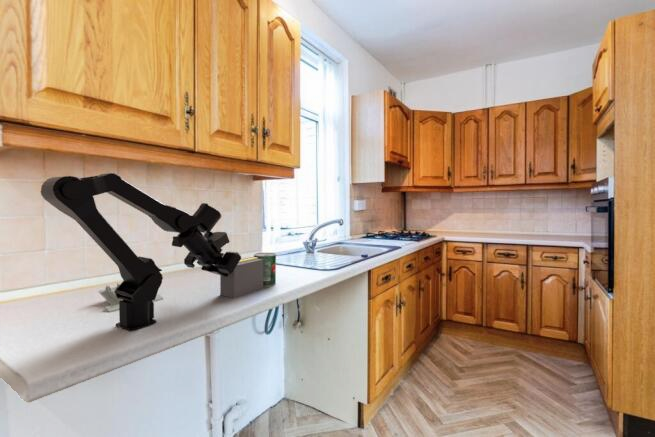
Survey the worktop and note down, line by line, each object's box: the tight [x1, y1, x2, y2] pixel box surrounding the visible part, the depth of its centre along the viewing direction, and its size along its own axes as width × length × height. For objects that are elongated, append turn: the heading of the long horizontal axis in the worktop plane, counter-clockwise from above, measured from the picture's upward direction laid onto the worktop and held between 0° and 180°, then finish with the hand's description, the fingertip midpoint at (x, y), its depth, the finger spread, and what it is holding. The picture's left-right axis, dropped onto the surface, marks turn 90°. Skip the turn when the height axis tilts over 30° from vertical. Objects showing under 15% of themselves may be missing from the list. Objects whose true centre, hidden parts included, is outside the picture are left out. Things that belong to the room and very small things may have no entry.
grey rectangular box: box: [219, 257, 264, 299], centre depth 110 cm, size 14×6×10 cm, turn 152°
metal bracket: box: [98, 283, 164, 313], centre depth 97 cm, size 14×6×15 cm
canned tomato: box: [253, 252, 277, 288], centre depth 120 cm, size 8×8×11 cm
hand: (226, 275), depth 104 cm, fingers closed, pressing on grey rectangular box
